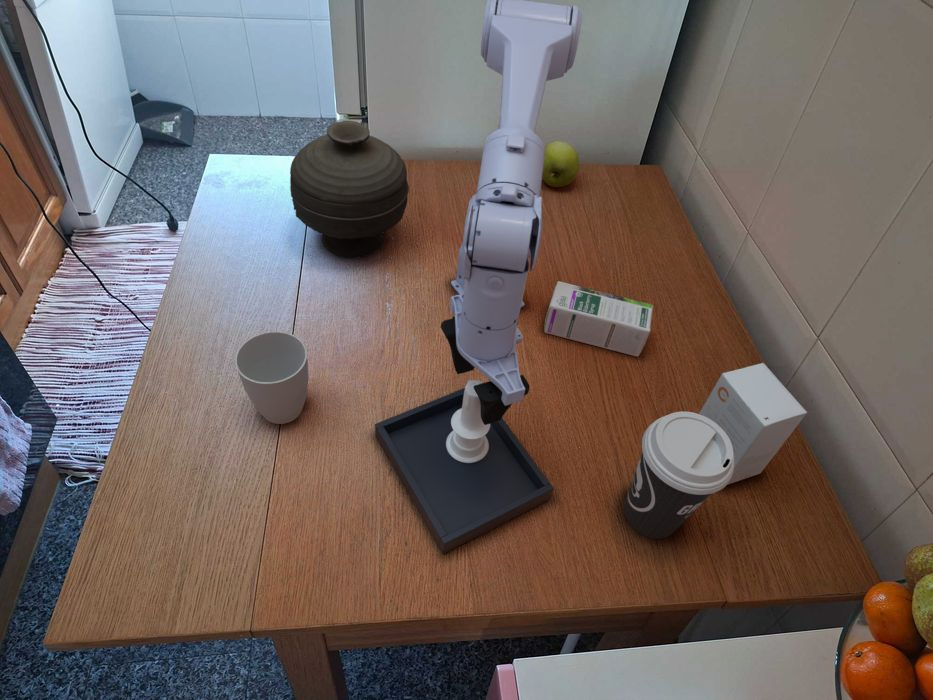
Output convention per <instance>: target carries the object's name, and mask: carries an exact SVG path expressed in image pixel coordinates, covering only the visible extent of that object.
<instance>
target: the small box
mask: <svg viewBox="0 0 933 700" xmlns="http://www.w3.org/2000/svg"><path fill="white" fill-rule="evenodd" d="M698 414H700V415H702V416H705V417H707V418H709V419H710V420H712V421H713V422H715V423H716V424H717V425H719V426H720V427H721V428H722V429H723V430H724V432H725V433H726V434H727V436H728V437H729V439H730V441H731V444H732V447H733V454H734V471H733V475H732V478H731V480H730V481H729V483H728V484H727V485H731V484H733V483H736V482H739V481H743V480H746V479H748V478H751V477H754V476H757V475H760V474H761V473H762V472H763V471H764V470H765V468H766V467H767V466H768V464H769V463H770V462H771V460H772V459H773V458H774V457H775V455H776V454H777V453H778V452H779V451H780V449H781V448H782V447H783V445H784V444H785V442H786V441H787V440H788V439H789V437H790V436H791V435H792V433H793V432H794V431H795V429H796V428H797V427H798V425H799V424H800V423H801V422H802V420H803V419H804V418H805V416H806V415H807V414H808V411H807V410H806V409H805V408H804V407H803V406H802V405H801V404H800V403H799V401H798V400H797V399H796V398H795V397H794V396H793V395H792V393H791V392H790V391H789V390H788V389H787V388H786V386H784V384H783V383H782V382H781V381H780V380H779V379H778V378H777V376H776V375H775V374H774V373H773V371H772V370H770V368H769V367H768V366H767V364H765V363H764V362H760V363H757V364H754V365H749V366H746V367H742V368H738V369H734V370H730V371H726V372H722V373H721V375H720V377H719V378H718V380H717V382H716V383H715V385H714V386H713V389H712V391H711V392H710V394H709V396H708V397H707V398H706V401H704V404H703V406H702V407H701V409H700V411H699V413H698ZM727 485H726V486H727Z"/></svg>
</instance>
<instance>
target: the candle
mask: <svg viewBox="0 0 933 700" xmlns="http://www.w3.org/2000/svg"><path fill="white" fill-rule="evenodd" d="M481 383H485V382H484V381H482V380H475V379H469V380H468V381H467V383H466V384H465V386H464V388H465V390H464V397H463V404H462V408H461V409H459V410H457V411H456V412H455V413H454V414H453V416H452V419H451V426H452V428H453V431H452V432H451V433H450V434H449V435H448V437H447V440H446V448H447V451H448V452H449V454H450V455H451V456H452V457H453V458H454V459H456V460H458V461H460V462H463V463H474V462H477V461H479V460H481V459H482V458H484V457H485V455H486V454H487V452H488V449H489V443H488V439H487V437H486V436H485V435H486V434H487V432H488V431H489V429H490V424H487V425H484V423H483V421H482V419H481V404H480V399H479V397H478V395H477V394H476V392H475V390H474V385H478V384H481Z"/></svg>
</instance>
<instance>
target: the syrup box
mask: <svg viewBox="0 0 933 700" xmlns="http://www.w3.org/2000/svg"><path fill="white" fill-rule="evenodd" d="M653 310H654V305H653V304H652V303H649V302H648V303H647V302H644V301H639V300H636V299H631V298H627V297H623V296H621V295H615V294H612V293H608V292H604V291H600V290H595V289H592V288H588V287H585V286H580V285H576V284H572V283H567V282H564V281H560V280H558V281H557V282H556V284H555V285H554V289H553V291H552V294H551V299H550V302H549V304H548V308H547V312H546V315H545V319H544V325H543V332H544V333H545V334H549V335H551V336H555V337H559V338H564V339H568V340H571V341H575V342H579V343H582V344H587V345H590V346H594V347H599V348H602V349H606V350H610V351H613V352H618V353H620V354H621V353H622V354H625V355H629V356H632V357H639V356H640V355H641V353H642V351H643V349H644V347H645V345H646V342H647V341H648V338H649V335H650V333H651V325H652V317H653Z"/></svg>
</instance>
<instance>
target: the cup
mask: <svg viewBox="0 0 933 700" xmlns="http://www.w3.org/2000/svg"><path fill="white" fill-rule="evenodd" d="M234 364H235V368H236V371H237V373H238V377H239V379H240V382H241V384H242V386H243V389H244V392H245V394H247V396H248V398H249V400H250V401H251V403H252V405H253V406H254V408H255V409H256V411H258V413H259V414H260V415H261V416H263V418H264V419H265V420H266V421H268V422H269V423H272V424H275V425H284V424H288V423H291V422H293V421H295V420H296V419H297V418H298V417H299V416H300V415H301V413H302V411H303V409H304V406H305V403H306V400H307V395H308V387H309V386H308V384H309V363H308V351H307V347H306V345H305V343H304V342H303V341H302V340H301V338H299V337H298V336H296V335H294V334H292V333H290V332H285V331H280V330H279V331H278V330H272V331H265V332H261V333H258V334H255V335H253V336H252V337H249V338H248V339H246V340H245V341H244V342H243V343H242V344H241V345H240V346H239V348H238V349H237V351H236V354H235V356H234Z"/></svg>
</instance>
